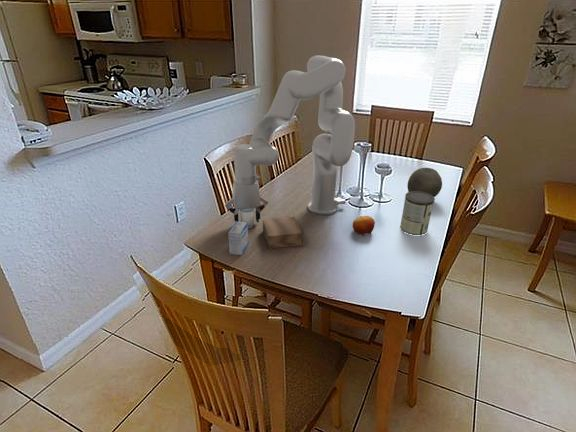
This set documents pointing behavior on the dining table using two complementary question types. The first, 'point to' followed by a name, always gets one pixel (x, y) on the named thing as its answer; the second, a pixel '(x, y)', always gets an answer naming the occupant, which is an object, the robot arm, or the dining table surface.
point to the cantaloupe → (425, 181)
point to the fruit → (363, 225)
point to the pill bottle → (247, 216)
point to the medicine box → (238, 238)
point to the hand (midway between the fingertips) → (247, 221)
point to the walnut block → (282, 232)
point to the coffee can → (416, 212)
